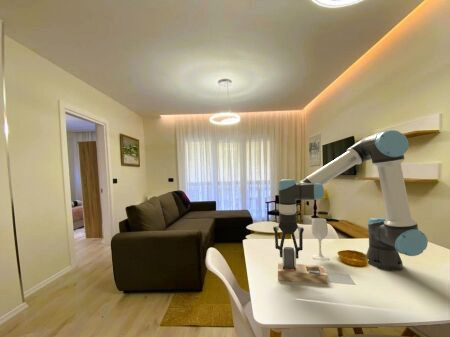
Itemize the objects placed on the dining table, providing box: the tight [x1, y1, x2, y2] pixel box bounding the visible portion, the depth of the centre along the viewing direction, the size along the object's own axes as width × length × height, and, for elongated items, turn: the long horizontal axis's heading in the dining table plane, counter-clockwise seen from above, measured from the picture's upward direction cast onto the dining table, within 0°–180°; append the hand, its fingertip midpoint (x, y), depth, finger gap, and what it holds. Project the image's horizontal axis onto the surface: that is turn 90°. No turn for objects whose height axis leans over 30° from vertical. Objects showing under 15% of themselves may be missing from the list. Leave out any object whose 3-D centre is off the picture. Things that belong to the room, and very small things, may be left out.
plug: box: [283, 246, 295, 270], centre depth 99 cm, size 4×4×11 cm
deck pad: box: [326, 271, 356, 286], centre depth 96 cm, size 10×10×1 cm
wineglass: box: [311, 217, 330, 261], centre depth 119 cm, size 9×9×21 cm
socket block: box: [277, 262, 328, 285], centre depth 98 cm, size 20×9×5 cm, turn 76°
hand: (289, 264), depth 99 cm, fingers closed on plug, 4 cm apart
